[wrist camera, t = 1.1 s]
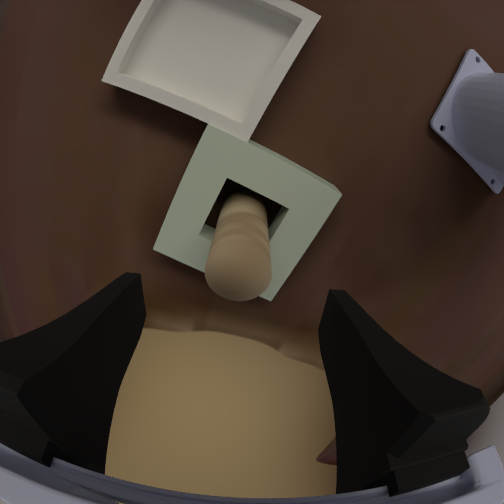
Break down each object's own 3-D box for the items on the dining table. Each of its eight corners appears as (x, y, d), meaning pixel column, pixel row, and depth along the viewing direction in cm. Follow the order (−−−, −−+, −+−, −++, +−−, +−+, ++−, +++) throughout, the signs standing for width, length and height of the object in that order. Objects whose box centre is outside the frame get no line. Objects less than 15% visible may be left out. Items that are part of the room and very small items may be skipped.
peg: (274, 202, 20) (284, 262, 13) (253, 237, 22) (252, 309, 15) (233, 181, 20) (221, 232, 13) (214, 219, 21) (194, 285, 14)
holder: (334, 185, 20) (342, 194, 18) (269, 285, 24) (270, 301, 22) (212, 121, 18) (208, 124, 16) (160, 236, 22) (153, 249, 20)
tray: (315, 23, 15) (321, 16, 13) (248, 138, 18) (247, 142, 17) (175, -31, 12) (168, -41, 11) (113, 81, 16) (101, 80, 15)
